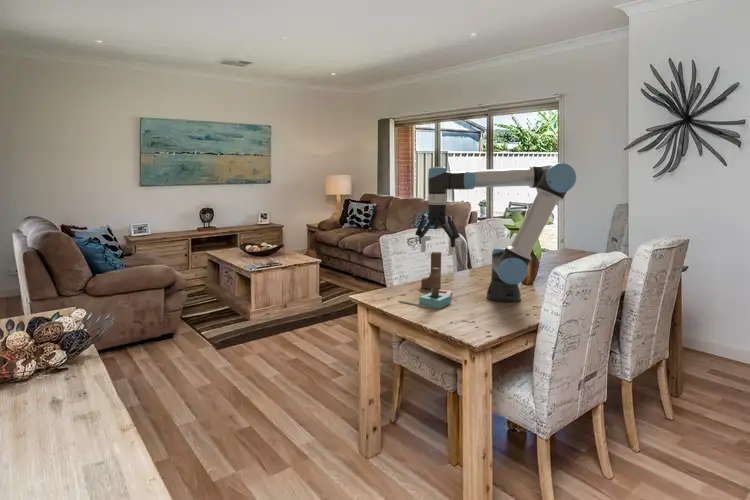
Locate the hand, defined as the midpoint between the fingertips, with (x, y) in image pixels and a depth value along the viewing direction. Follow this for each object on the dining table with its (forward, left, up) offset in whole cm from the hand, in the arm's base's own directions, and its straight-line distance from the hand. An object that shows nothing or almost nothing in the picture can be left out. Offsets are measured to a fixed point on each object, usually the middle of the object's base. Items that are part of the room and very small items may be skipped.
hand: (436, 253), depth 212 cm
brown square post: (0, 0, -23) cm, 23 cm away
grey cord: (+8, +6, -23) cm, 25 cm away
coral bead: (+2, -10, -23) cm, 25 cm away
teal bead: (0, 0, -23) cm, 23 cm away
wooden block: (+16, -24, -23) cm, 37 cm away
